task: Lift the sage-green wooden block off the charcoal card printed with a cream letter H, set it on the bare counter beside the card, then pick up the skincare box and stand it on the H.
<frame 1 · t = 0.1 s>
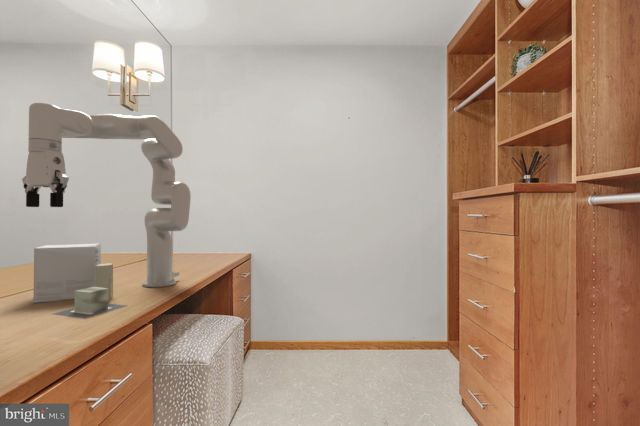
hand: (44, 206, 99), 31 cm above the counter, fingers open, 9 cm apart
sage block: (91, 309, 103), point 1 cm above the counter, touching letter card
supplement box: (69, 297, 120), on the counter
letter card: (91, 311, 103), on the counter
skincare box: (104, 301, 116), on the counter
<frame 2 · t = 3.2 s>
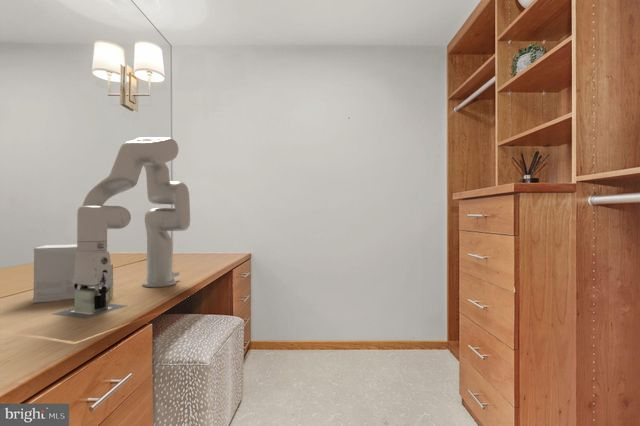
hand: (91, 306, 103), 1 cm above the counter, fingers closed on sage block, 6 cm apart
sage block: (91, 309, 103), point 1 cm above the counter, touching gripper, letter card
everything else where it was.
when the fingers open (2 cm above the counter, at t = 9.6 s): sage block drops 1 cm, on the counter.
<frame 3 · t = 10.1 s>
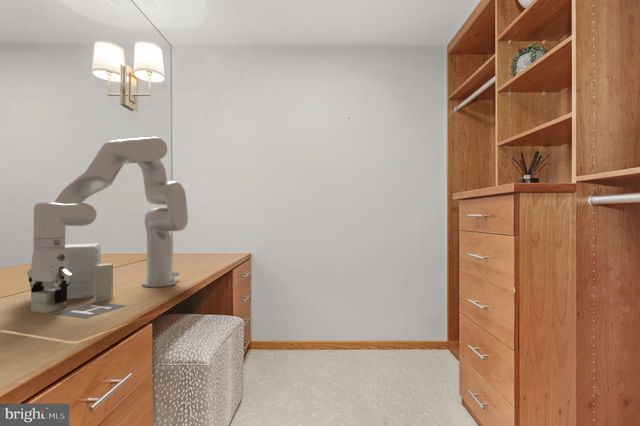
hand: (49, 301, 103), 3 cm above the counter, fingers open, 9 cm apart
sage block: (49, 311, 103), on the counter
everything else where it was.
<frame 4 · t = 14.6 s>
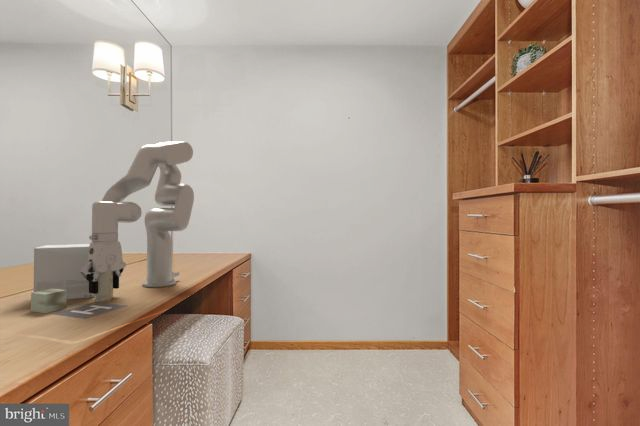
hand: (104, 290, 116), 3 cm above the counter, fingers closed on skincare box, 7 cm apart
skincare box: (104, 300, 116), on the counter, touching gripper
everything else where it was.
when the fingers open (5 cm above the counter, at t = 23.4 s): skincare box drops 1 cm, resting on letter card.
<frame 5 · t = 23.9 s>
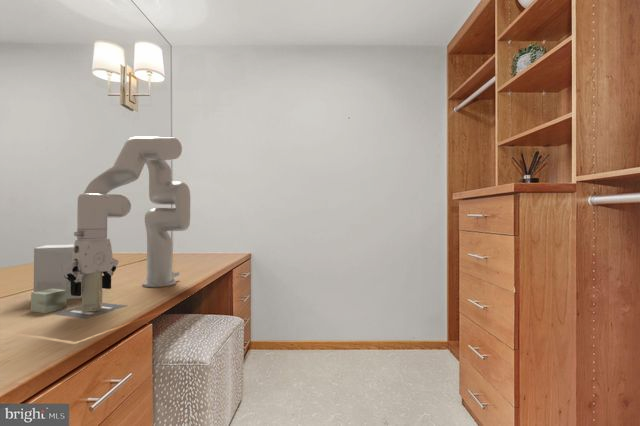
hand: (91, 291, 103), 6 cm above the counter, fingers open, 9 cm apart
skincare box: (92, 310, 103), resting on letter card
everything else where it was.
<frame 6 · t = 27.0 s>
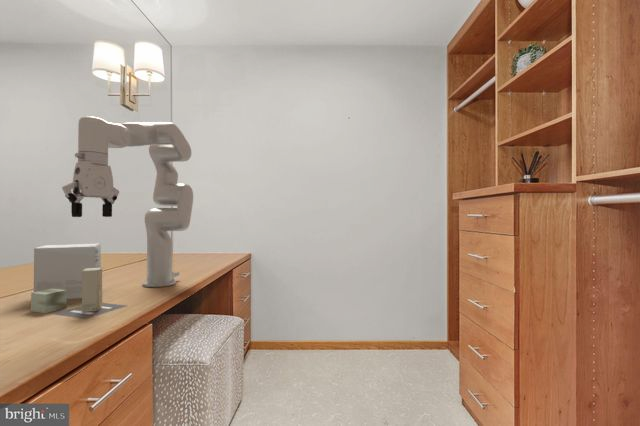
hand: (92, 216, 103), 28 cm above the counter, fingers open, 9 cm apart
nothing on the counter moved.
at the end: skincare box inside the target area on the letter card (0.2 cm from its centre), point 0.3 cm above the letter card's base; skincare box tilted 0°; sage block touching counter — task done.
